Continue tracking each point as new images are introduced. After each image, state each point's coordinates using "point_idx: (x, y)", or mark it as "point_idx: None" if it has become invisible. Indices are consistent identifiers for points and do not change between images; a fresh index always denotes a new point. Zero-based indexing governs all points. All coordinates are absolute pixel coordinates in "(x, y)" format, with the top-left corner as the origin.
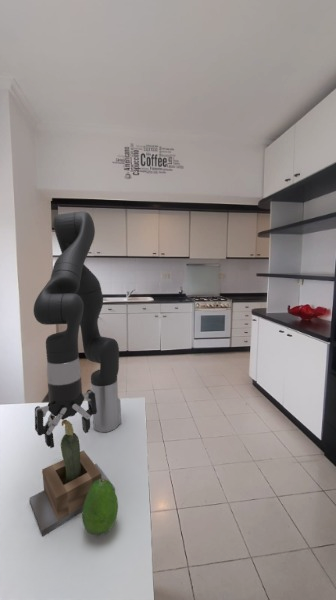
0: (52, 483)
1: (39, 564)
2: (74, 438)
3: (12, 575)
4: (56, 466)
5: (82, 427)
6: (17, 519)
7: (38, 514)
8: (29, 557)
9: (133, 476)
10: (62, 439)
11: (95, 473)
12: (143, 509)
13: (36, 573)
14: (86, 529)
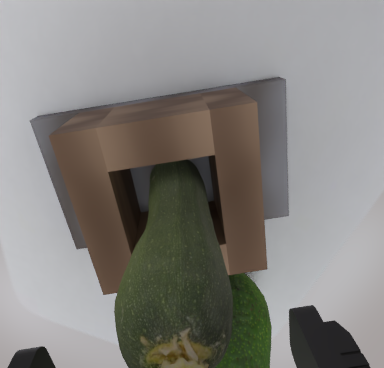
0: (93, 235)
1: (77, 289)
2: None
3: (26, 286)
4: (114, 150)
5: (296, 321)
6: (9, 159)
7: (65, 199)
8: (56, 269)
9: (357, 180)
10: (122, 348)
11: (249, 261)
12: (314, 279)
13: (72, 301)
14: None
